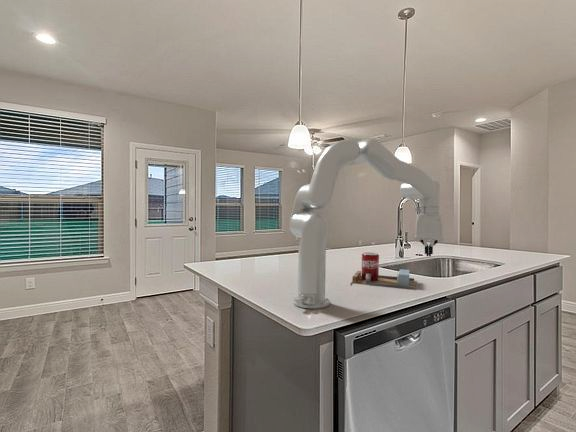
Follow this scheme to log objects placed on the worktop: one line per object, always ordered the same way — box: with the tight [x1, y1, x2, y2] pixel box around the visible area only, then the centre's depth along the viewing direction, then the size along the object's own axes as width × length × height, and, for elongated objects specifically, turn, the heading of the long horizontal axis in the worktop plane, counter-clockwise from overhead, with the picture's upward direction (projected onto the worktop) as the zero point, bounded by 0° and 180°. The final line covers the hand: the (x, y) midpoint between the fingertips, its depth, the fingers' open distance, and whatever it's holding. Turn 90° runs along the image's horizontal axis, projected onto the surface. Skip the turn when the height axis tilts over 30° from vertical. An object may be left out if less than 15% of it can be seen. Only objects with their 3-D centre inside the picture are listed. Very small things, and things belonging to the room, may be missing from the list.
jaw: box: [396, 269, 410, 286], centre depth 134 cm, size 11×4×5 cm, turn 158°
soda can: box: [361, 251, 380, 282], centre depth 139 cm, size 7×7×12 cm
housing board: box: [350, 270, 418, 291], centre depth 137 cm, size 16×26×5 cm, turn 68°
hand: (428, 255), depth 131 cm, fingers closed
